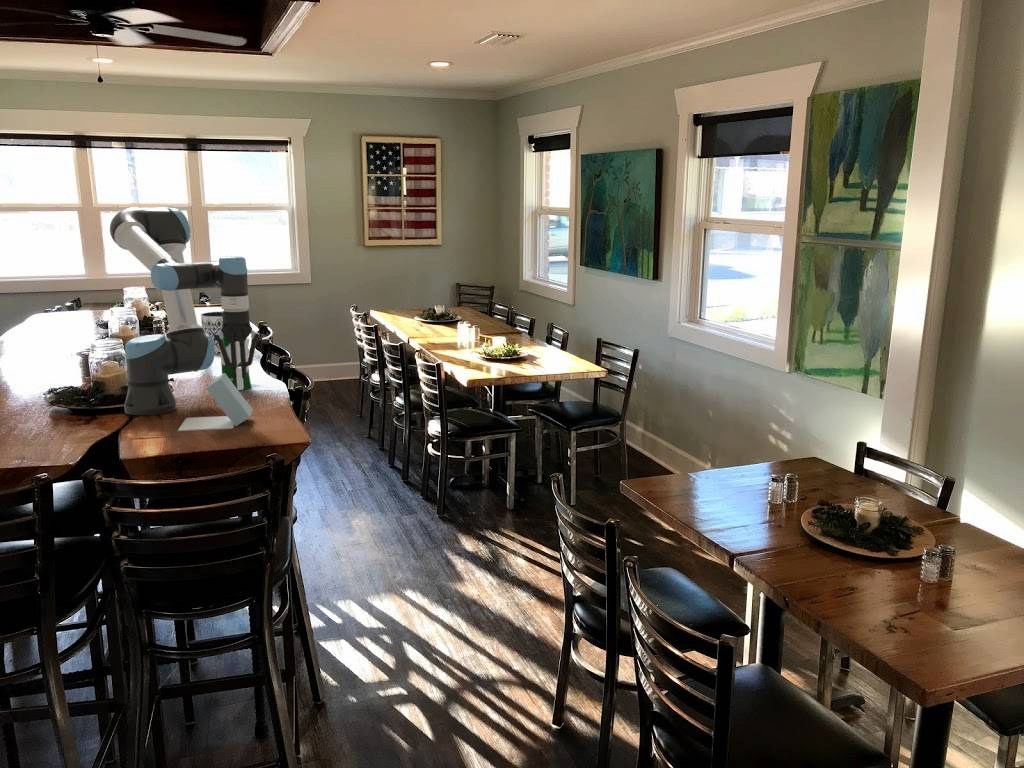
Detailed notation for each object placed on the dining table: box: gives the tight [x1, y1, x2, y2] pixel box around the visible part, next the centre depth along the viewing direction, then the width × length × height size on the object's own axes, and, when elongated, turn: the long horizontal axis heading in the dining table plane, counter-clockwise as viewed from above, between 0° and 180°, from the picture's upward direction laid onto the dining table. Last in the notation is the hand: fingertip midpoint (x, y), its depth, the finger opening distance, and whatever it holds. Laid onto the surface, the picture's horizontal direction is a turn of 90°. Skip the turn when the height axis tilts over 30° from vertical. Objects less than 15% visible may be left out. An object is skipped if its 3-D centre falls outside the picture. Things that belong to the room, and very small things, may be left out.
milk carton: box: [218, 334, 252, 392], centre depth 284 cm, size 9×9×20 cm
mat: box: [177, 415, 235, 432], centre depth 240 cm, size 15×14×1 cm
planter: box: [200, 310, 224, 354], centre depth 363 cm, size 18×18×16 cm
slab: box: [205, 373, 254, 427], centre depth 239 cm, size 5×9×14 cm
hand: (240, 388), depth 240 cm, fingers closed
